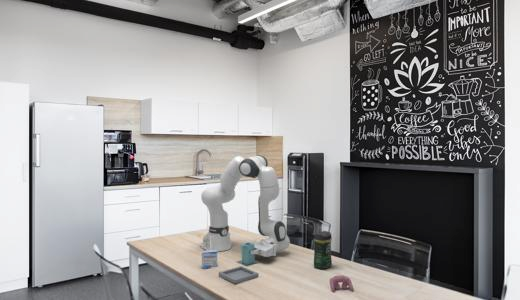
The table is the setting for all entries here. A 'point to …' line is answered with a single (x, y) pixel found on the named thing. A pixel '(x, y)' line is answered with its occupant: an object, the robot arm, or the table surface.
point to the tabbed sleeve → (247, 253)
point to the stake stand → (248, 264)
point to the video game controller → (340, 278)
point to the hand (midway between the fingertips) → (246, 251)
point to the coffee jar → (322, 250)
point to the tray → (238, 275)
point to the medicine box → (209, 259)
